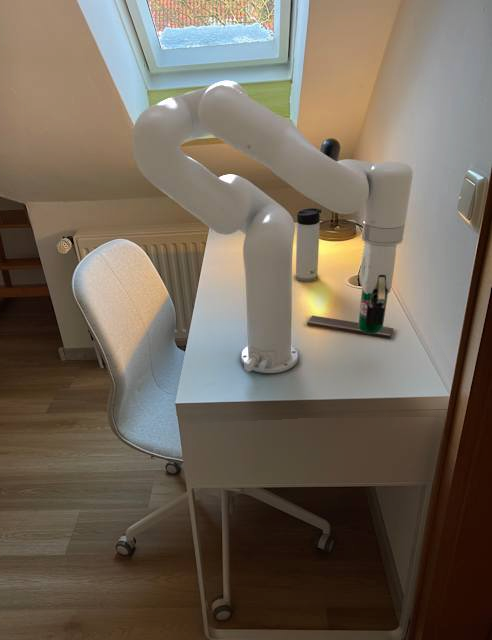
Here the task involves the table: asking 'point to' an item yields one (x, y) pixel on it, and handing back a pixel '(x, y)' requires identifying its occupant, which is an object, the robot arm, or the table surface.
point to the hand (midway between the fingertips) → (371, 316)
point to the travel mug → (307, 244)
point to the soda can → (363, 311)
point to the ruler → (345, 326)
